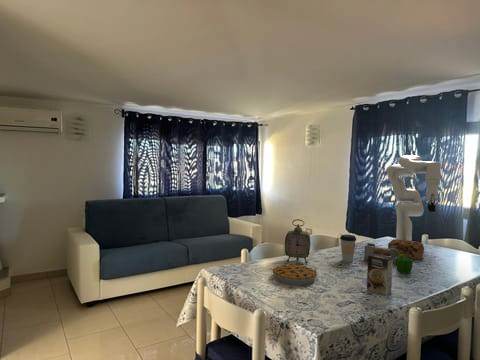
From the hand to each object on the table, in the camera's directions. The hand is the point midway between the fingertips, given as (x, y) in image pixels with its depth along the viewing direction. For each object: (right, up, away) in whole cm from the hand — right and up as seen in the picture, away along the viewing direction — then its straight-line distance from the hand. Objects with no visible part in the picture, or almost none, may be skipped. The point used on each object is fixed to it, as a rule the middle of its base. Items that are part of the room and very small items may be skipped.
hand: (431, 210), depth 201 cm
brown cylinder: (-30, -24, -2) cm, 38 cm away
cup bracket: (-36, -30, +2) cm, 47 cm away
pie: (-88, -31, -34) cm, 99 cm away
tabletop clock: (-81, -30, -5) cm, 87 cm away
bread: (-10, -30, +12) cm, 34 cm away
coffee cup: (-51, -30, -2) cm, 59 cm away
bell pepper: (-27, -31, -22) cm, 47 cm away
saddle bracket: (-25, -30, -4) cm, 39 cm away
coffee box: (-52, -32, -49) cm, 78 cm away
